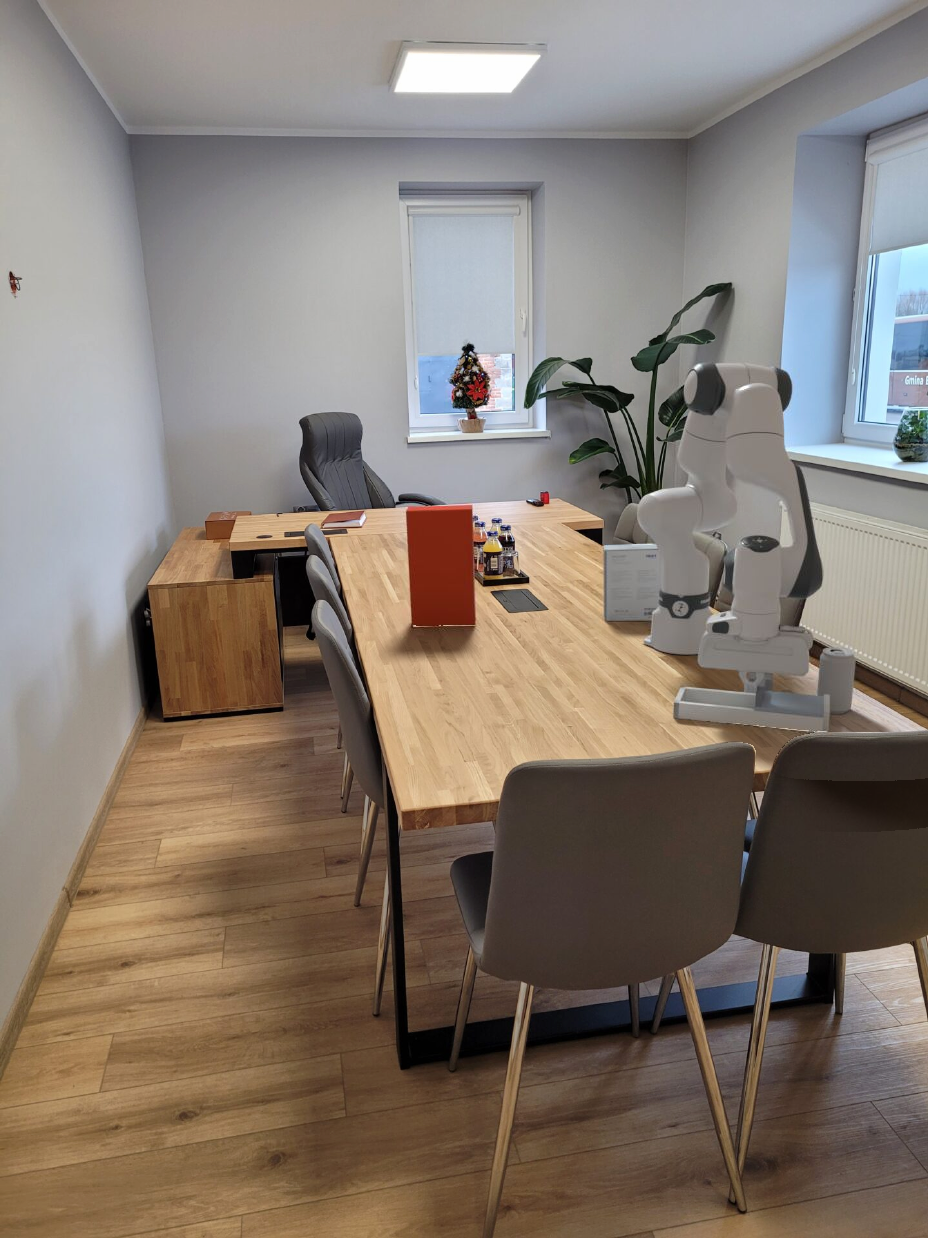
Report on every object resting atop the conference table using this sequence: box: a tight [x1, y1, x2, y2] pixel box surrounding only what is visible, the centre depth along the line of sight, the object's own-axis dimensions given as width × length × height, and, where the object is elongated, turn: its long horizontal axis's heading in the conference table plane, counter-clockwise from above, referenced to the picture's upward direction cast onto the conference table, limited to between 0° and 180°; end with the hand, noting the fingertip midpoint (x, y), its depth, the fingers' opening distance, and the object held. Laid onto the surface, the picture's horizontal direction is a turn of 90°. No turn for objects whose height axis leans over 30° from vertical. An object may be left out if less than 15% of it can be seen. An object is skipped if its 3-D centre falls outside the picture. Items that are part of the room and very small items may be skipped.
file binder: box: [405, 504, 477, 626], centre depth 239 cm, size 8×17×32 cm, turn 88°
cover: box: [755, 679, 824, 717], centre depth 167 cm, size 10×12×3 cm
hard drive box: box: [602, 543, 661, 622], centre depth 240 cm, size 16×8×20 cm, turn 84°
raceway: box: [672, 686, 831, 733], centre depth 171 cm, size 10×28×4 cm, turn 68°
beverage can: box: [816, 647, 857, 715], centre depth 172 cm, size 6×6×12 cm
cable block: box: [747, 671, 774, 691], centre depth 180 cm, size 4×4×5 cm
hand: (750, 692), depth 170 cm, fingers closed
